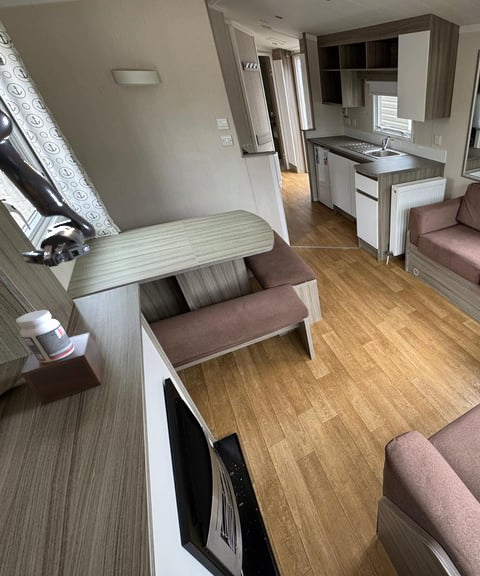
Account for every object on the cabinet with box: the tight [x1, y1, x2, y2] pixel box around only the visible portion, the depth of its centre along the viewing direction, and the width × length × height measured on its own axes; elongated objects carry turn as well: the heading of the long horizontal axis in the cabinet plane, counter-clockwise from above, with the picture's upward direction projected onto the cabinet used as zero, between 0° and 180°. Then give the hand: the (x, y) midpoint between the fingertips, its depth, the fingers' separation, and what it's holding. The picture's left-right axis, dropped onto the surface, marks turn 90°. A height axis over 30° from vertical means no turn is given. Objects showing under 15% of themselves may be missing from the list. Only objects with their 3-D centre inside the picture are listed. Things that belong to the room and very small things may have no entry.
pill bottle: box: [15, 309, 74, 363], centre depth 63 cm, size 6×6×10 cm
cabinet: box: [20, 332, 105, 405], centre depth 69 cm, size 11×10×9 cm
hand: (51, 262), depth 72 cm, fingers closed
